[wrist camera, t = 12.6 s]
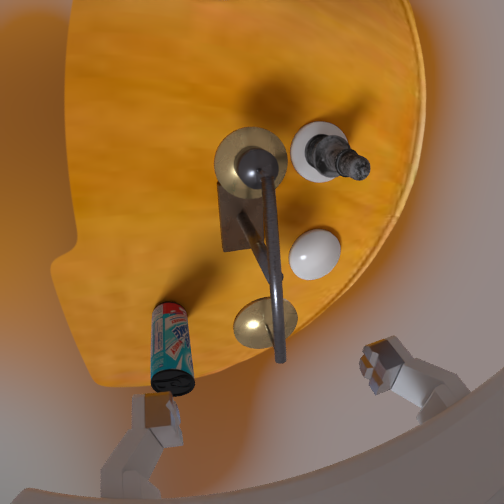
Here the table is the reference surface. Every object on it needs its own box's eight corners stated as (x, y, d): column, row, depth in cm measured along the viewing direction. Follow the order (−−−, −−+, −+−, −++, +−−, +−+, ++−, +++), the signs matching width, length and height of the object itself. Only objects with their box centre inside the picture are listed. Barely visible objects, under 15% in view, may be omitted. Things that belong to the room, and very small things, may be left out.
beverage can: (187, 326, 51) (196, 395, 38) (154, 327, 49) (154, 397, 36) (186, 299, 48) (194, 369, 35) (150, 300, 46) (147, 371, 34)
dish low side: (289, 121, 38) (292, 121, 37) (346, 122, 40) (349, 122, 39) (290, 182, 43) (292, 184, 42) (344, 179, 44) (347, 180, 43)
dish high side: (289, 232, 46) (291, 235, 46) (340, 226, 48) (343, 228, 47) (287, 280, 51) (289, 283, 50) (334, 272, 52) (337, 275, 52)
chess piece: (344, 140, 40) (395, 157, 30) (331, 176, 42) (377, 203, 32) (310, 126, 38) (356, 138, 28) (296, 164, 40) (337, 189, 30)
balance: (205, 124, 36) (230, 144, 19) (265, 120, 37) (339, 140, 20) (220, 292, 49) (247, 392, 32) (267, 284, 50) (312, 377, 33)
